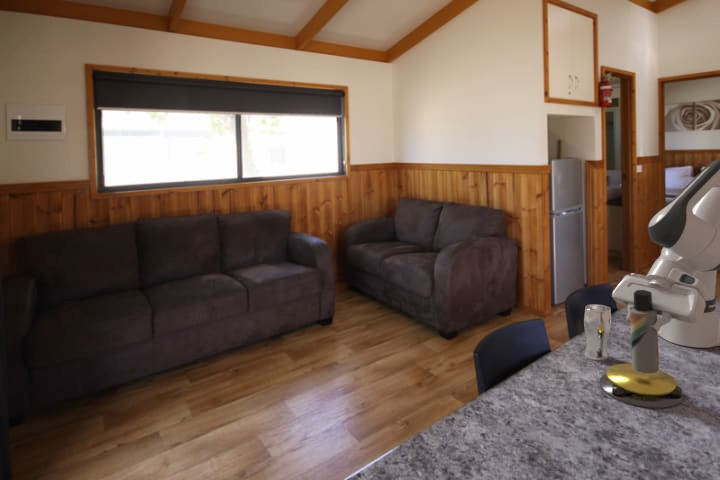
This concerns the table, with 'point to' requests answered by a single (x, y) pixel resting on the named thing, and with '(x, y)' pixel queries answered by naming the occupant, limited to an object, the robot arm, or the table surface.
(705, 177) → the robot arm
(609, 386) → the levelling base
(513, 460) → the table surface
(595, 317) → the beer glass
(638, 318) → the lotion bottle
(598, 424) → the table surface
